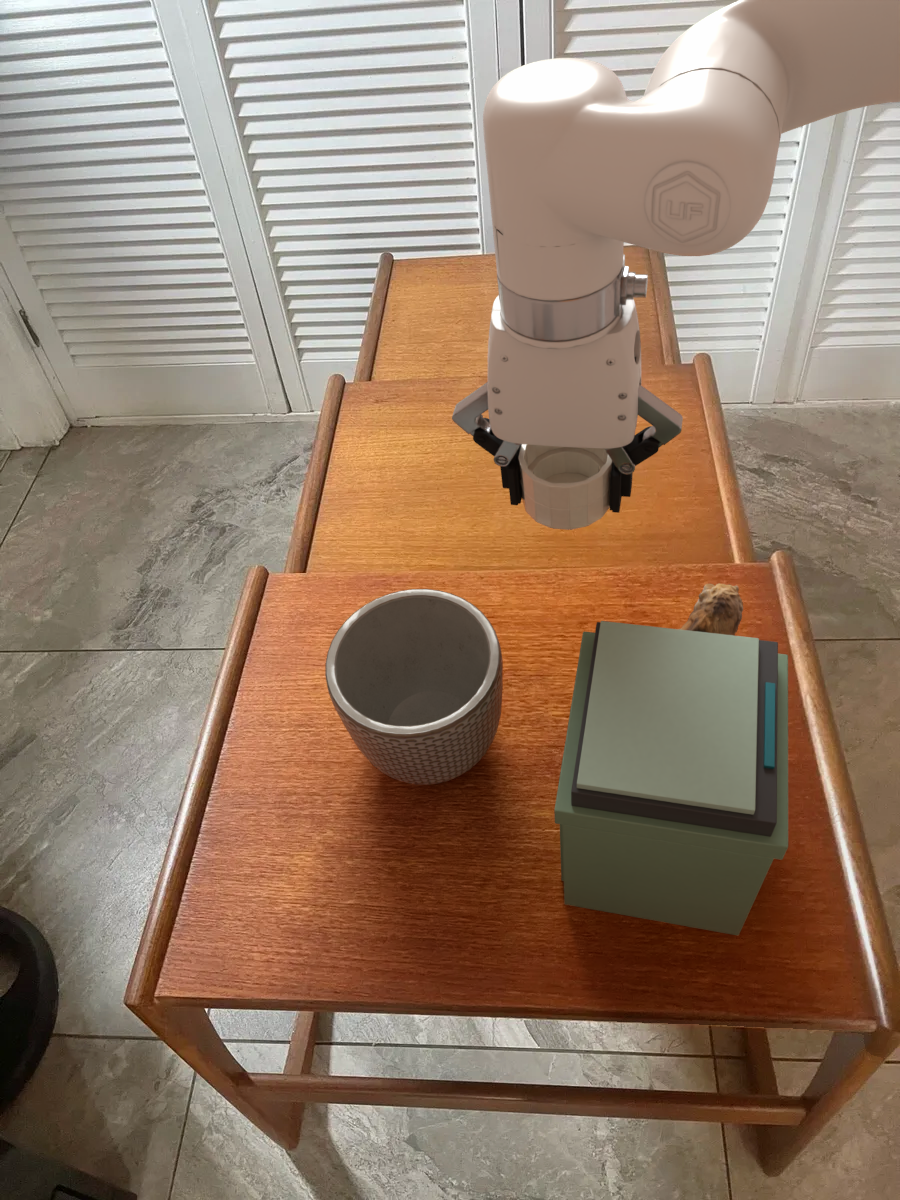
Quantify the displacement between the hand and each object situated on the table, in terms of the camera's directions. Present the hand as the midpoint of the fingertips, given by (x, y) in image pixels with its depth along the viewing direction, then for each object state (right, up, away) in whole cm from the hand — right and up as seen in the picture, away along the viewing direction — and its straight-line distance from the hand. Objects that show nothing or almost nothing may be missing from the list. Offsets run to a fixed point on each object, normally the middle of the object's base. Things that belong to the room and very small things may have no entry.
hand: (567, 494), depth 69 cm
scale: (+6, -17, -10) cm, 20 cm away
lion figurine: (+11, -15, +13) cm, 22 cm away
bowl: (0, -1, +1) cm, 1 cm away
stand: (+8, -27, +4) cm, 28 cm away
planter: (-10, -21, +11) cm, 26 cm away
